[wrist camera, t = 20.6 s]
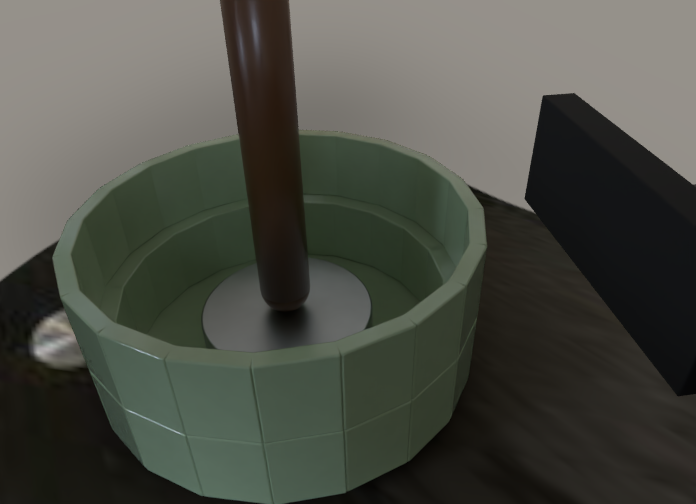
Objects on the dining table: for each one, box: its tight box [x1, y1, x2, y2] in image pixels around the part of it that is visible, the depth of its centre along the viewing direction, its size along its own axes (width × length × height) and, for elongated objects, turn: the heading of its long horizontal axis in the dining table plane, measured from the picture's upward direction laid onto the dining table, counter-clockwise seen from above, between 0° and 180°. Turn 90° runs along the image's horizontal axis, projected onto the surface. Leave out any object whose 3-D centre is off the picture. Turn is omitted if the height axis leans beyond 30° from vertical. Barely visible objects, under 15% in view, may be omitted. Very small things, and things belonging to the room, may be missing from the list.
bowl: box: [52, 130, 487, 504], centre depth 24 cm, size 15×15×7 cm
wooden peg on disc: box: [201, 0, 372, 353], centre depth 20 cm, size 7×7×19 cm
